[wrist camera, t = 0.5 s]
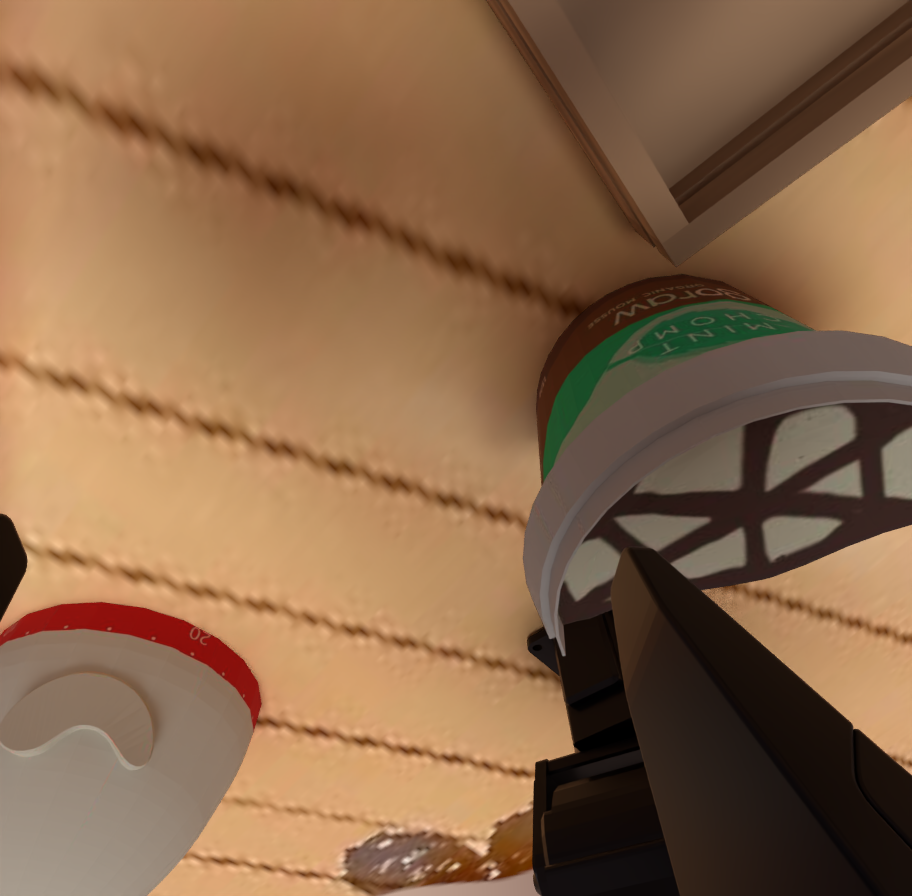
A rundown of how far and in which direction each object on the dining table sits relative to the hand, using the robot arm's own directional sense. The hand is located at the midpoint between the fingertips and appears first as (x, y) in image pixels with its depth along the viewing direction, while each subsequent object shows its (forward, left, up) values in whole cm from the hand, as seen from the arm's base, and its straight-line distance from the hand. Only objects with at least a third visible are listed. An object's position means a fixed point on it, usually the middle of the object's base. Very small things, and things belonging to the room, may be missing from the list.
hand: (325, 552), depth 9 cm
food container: (-7, -5, -14) cm, 16 cm away
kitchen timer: (-7, +27, -14) cm, 31 cm away
